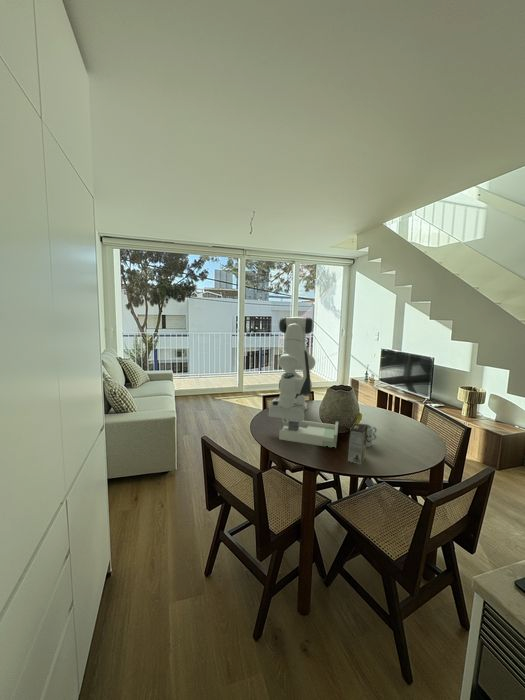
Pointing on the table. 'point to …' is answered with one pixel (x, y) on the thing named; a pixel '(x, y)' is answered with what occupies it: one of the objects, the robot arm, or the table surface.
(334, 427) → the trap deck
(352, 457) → the coffee box
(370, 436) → the mug
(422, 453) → the table surface
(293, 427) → the block
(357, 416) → the plant pot
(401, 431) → the table surface
